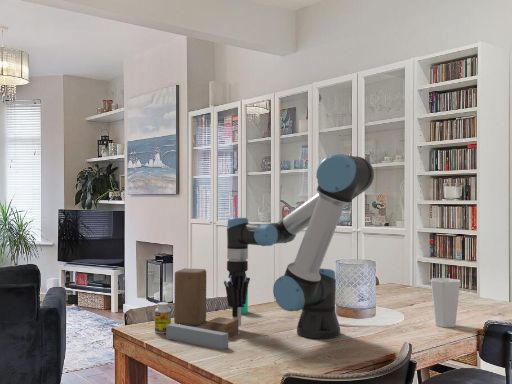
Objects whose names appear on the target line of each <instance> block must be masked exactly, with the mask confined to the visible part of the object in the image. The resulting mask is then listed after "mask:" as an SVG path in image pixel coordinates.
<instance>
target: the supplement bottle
mask: <svg viewBox="0 0 512 384" xmlns="http://www.w3.org/2000/svg"><path fill="white" fill-rule="evenodd" d="M156 306H157V307H156V308H155V310H154V332H155V333H156V334H161V335H164V333H165V334H166V325H168V324H172V323H171V322H172V321H171V319H172V309H171V308H170V306H169V302H164V301H163V302H161V301H160V302H157V305H156Z"/></svg>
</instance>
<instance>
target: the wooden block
mask: <svg viewBox="0 0 512 384" xmlns="http://www.w3.org/2000/svg"><path fill="white" fill-rule="evenodd" d="M173 303H174V307H173V308H174V310H173V311H174V318H173V319H174V321H173V323H174V324H180V325H185V326H196V325H197V326H199V325H201V324H202V323H204V322H205V321H206V319H207V270H206V269H205V268H182V269H180V270H177V271H175V272H174V302H173Z"/></svg>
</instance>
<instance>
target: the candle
mask: <svg viewBox="0 0 512 384" xmlns="http://www.w3.org/2000/svg"><path fill="white" fill-rule="evenodd" d="M248 296H249V289H248V290H247V297H246V304H243V305H244V307H242V314H246V313H247V314H248V312H249V311H248V308H249V307H248V306H249V303H248V302H249V297H248Z"/></svg>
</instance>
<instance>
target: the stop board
mask: <svg viewBox="0 0 512 384" xmlns="http://www.w3.org/2000/svg"><path fill="white" fill-rule="evenodd" d="M165 334H166V335H165V336H166V338H165V339H167V338H168V340H172V339H173V341H176V342H177V341H178V342H183V343H187V344H188V343H189V344H193V345H197V346H203V347H208V348H213V349H217V350H225V349H228V348H229V337H228V333H224V332H218V331H213V330H207V328H206V329H205V328H202V327H196V326H195V327H194V326H191V325H179V324H175V322H173V323H171V324H168V325H166V333H165Z"/></svg>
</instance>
